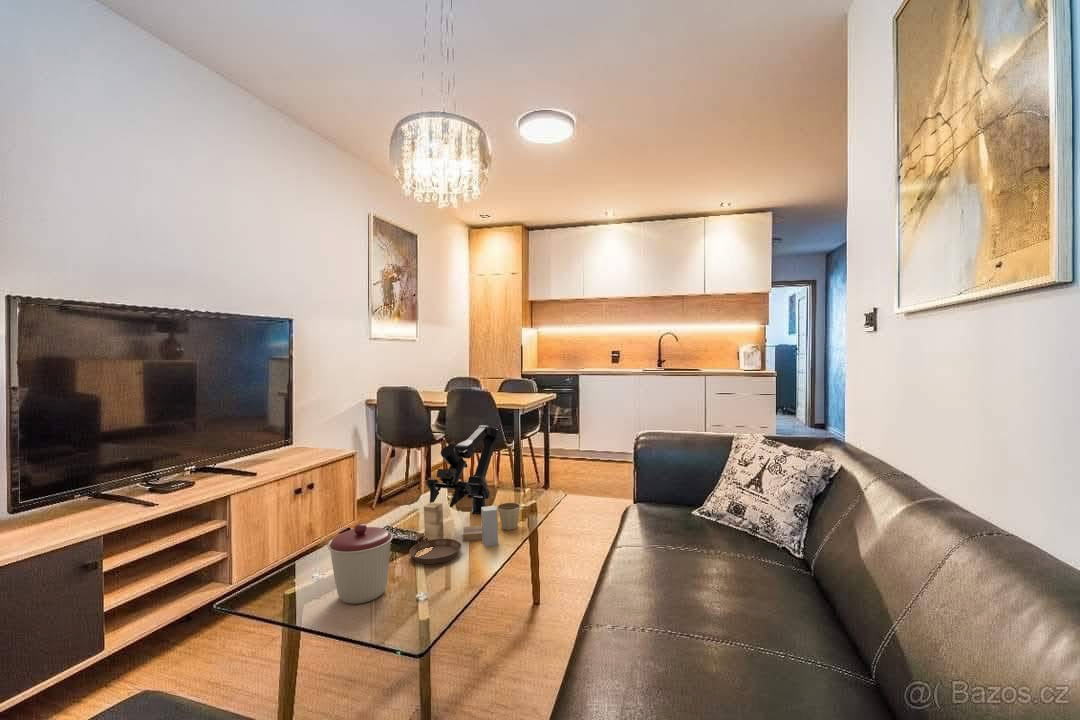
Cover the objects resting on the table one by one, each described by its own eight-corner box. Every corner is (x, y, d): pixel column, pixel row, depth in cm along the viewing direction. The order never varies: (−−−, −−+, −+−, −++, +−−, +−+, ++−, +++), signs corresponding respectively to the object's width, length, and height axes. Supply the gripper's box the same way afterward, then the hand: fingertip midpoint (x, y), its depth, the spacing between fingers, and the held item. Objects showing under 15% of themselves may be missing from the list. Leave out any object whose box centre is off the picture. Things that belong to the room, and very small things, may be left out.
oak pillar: (432, 535, 191) (431, 502, 191) (443, 537, 189) (442, 503, 189) (424, 540, 186) (423, 506, 186) (436, 541, 184) (434, 507, 184)
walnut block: (463, 534, 192) (463, 527, 192) (484, 533, 193) (484, 525, 193) (463, 542, 184) (462, 534, 184) (484, 540, 185) (484, 532, 185)
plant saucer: (400, 557, 172) (399, 548, 172) (443, 542, 184) (442, 534, 184) (427, 572, 159) (427, 562, 159) (471, 555, 172) (471, 546, 172)
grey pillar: (482, 541, 183) (481, 507, 183) (495, 540, 184) (494, 505, 184) (484, 546, 178) (483, 511, 178) (498, 544, 179) (497, 509, 179)
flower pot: (510, 533, 190) (510, 511, 190) (492, 528, 196) (492, 507, 196) (526, 526, 198) (525, 504, 198) (508, 521, 204) (507, 501, 203)
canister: (373, 575, 157) (370, 510, 157) (407, 591, 146) (404, 521, 146) (317, 598, 143) (315, 526, 143) (350, 618, 132) (347, 540, 132)
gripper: (427, 458, 200) (411, 493, 190) (466, 461, 193) (452, 497, 182) (439, 473, 207) (424, 507, 197) (477, 476, 200) (464, 512, 190)
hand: (440, 505), depth 191 cm, fingers open, 9 cm apart
